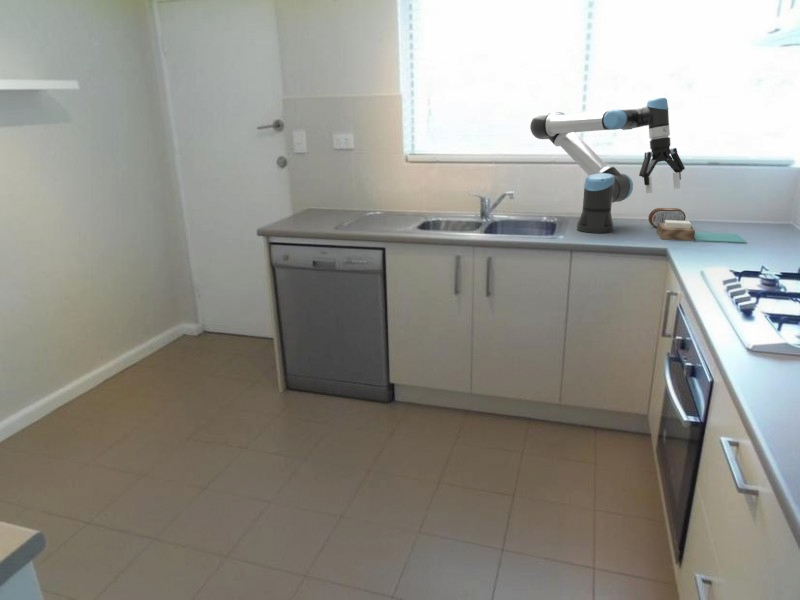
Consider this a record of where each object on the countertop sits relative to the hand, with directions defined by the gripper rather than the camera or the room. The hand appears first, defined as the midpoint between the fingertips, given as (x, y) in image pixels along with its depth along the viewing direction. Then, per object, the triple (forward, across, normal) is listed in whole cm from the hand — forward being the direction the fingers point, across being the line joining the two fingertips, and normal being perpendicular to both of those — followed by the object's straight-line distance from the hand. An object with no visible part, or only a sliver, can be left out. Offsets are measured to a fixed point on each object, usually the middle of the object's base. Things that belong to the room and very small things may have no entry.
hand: (663, 190), depth 236 cm
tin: (+17, +10, +12) cm, 22 cm away
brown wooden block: (+19, 0, -5) cm, 19 cm away
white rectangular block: (+15, +1, -6) cm, 16 cm away
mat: (+21, +13, -13) cm, 28 cm away
